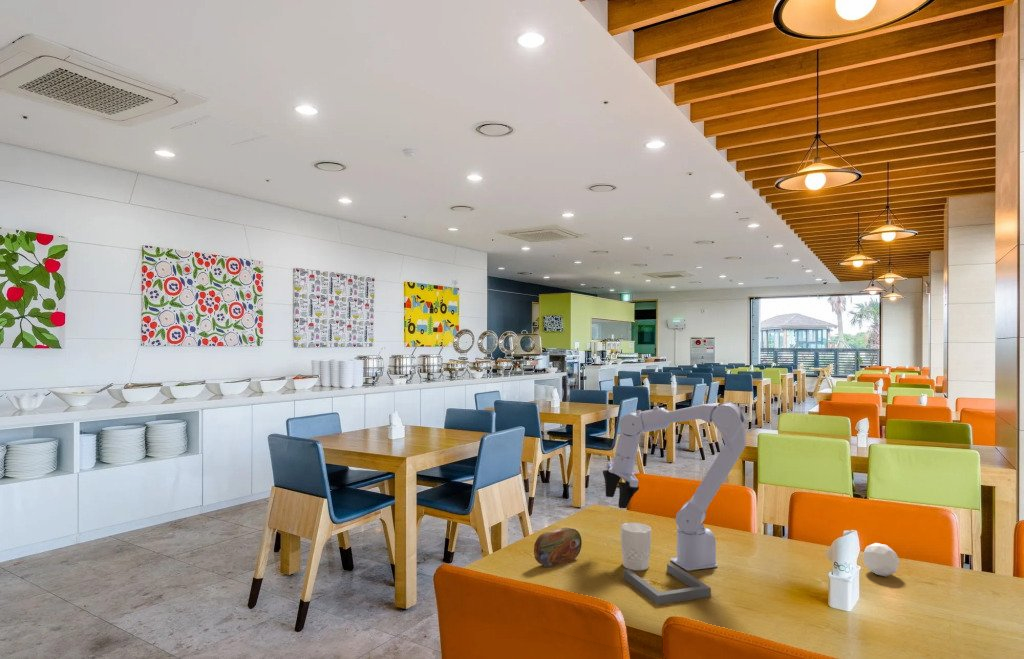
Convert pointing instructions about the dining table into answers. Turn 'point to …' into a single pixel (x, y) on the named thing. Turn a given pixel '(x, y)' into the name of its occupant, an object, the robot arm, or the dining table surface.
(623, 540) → the white cup
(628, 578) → the gray u-shaped frame
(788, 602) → the dining table surface
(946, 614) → the dining table surface
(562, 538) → the tin
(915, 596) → the dining table surface
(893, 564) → the geometric ball
